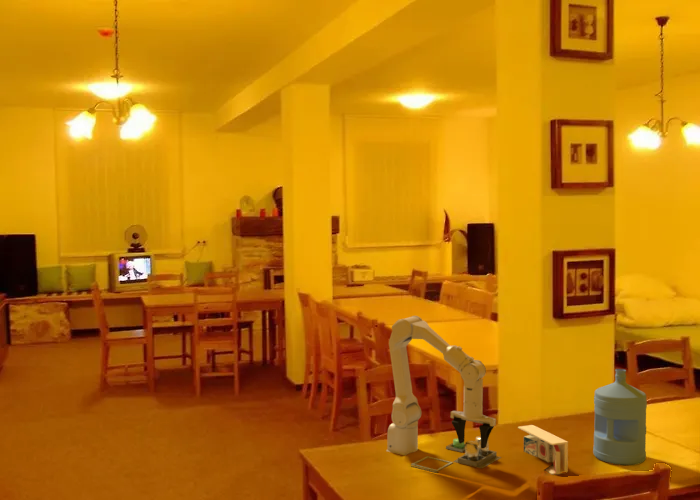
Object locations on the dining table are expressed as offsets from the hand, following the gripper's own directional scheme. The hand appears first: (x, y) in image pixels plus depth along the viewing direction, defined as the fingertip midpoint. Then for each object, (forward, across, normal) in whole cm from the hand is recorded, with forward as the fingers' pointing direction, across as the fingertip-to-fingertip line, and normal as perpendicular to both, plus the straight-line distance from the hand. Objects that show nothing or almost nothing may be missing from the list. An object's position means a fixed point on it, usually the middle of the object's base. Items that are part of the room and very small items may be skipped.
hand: (472, 444), depth 227 cm
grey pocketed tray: (+6, 0, -3) cm, 7 cm away
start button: (+6, +10, -9) cm, 14 cm away
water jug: (+6, -33, -35) cm, 49 cm away
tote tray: (+7, +9, +9) cm, 14 cm away
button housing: (+7, +10, -9) cm, 15 cm away
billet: (+5, 0, 0) cm, 5 cm away
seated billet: (+5, 0, -6) cm, 8 cm away
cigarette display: (+7, -16, -15) cm, 23 cm away
